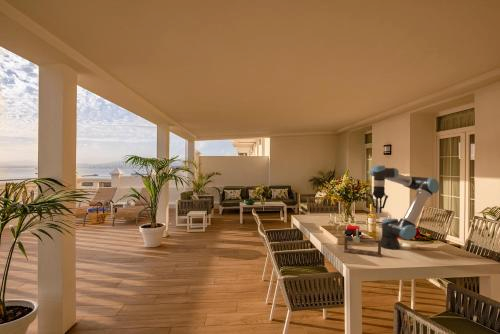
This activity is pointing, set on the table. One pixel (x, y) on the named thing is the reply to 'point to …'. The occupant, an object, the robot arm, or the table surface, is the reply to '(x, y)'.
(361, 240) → the rod
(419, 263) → the table surface
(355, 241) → the cream t-shaped block
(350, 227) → the red-and-black block model
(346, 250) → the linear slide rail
